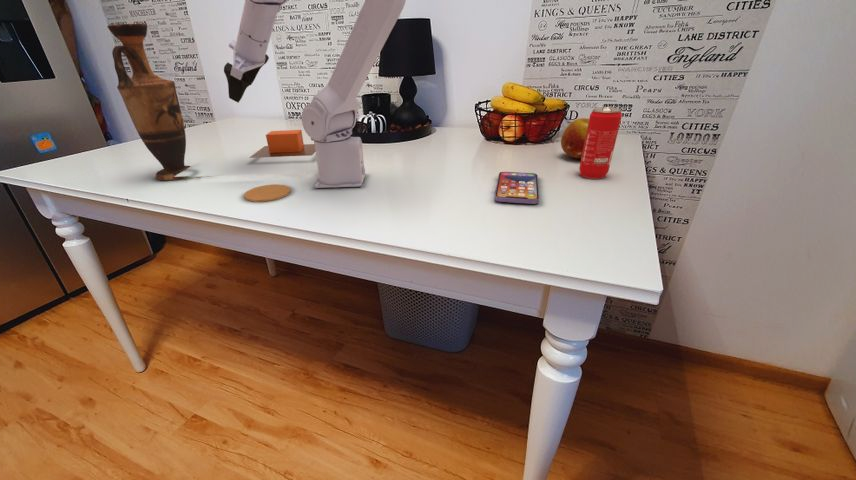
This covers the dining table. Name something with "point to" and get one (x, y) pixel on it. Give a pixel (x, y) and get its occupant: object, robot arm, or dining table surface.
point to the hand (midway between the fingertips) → (240, 90)
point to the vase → (150, 102)
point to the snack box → (285, 141)
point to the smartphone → (517, 188)
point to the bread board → (264, 152)
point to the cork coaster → (267, 193)
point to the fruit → (575, 137)
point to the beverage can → (600, 142)
